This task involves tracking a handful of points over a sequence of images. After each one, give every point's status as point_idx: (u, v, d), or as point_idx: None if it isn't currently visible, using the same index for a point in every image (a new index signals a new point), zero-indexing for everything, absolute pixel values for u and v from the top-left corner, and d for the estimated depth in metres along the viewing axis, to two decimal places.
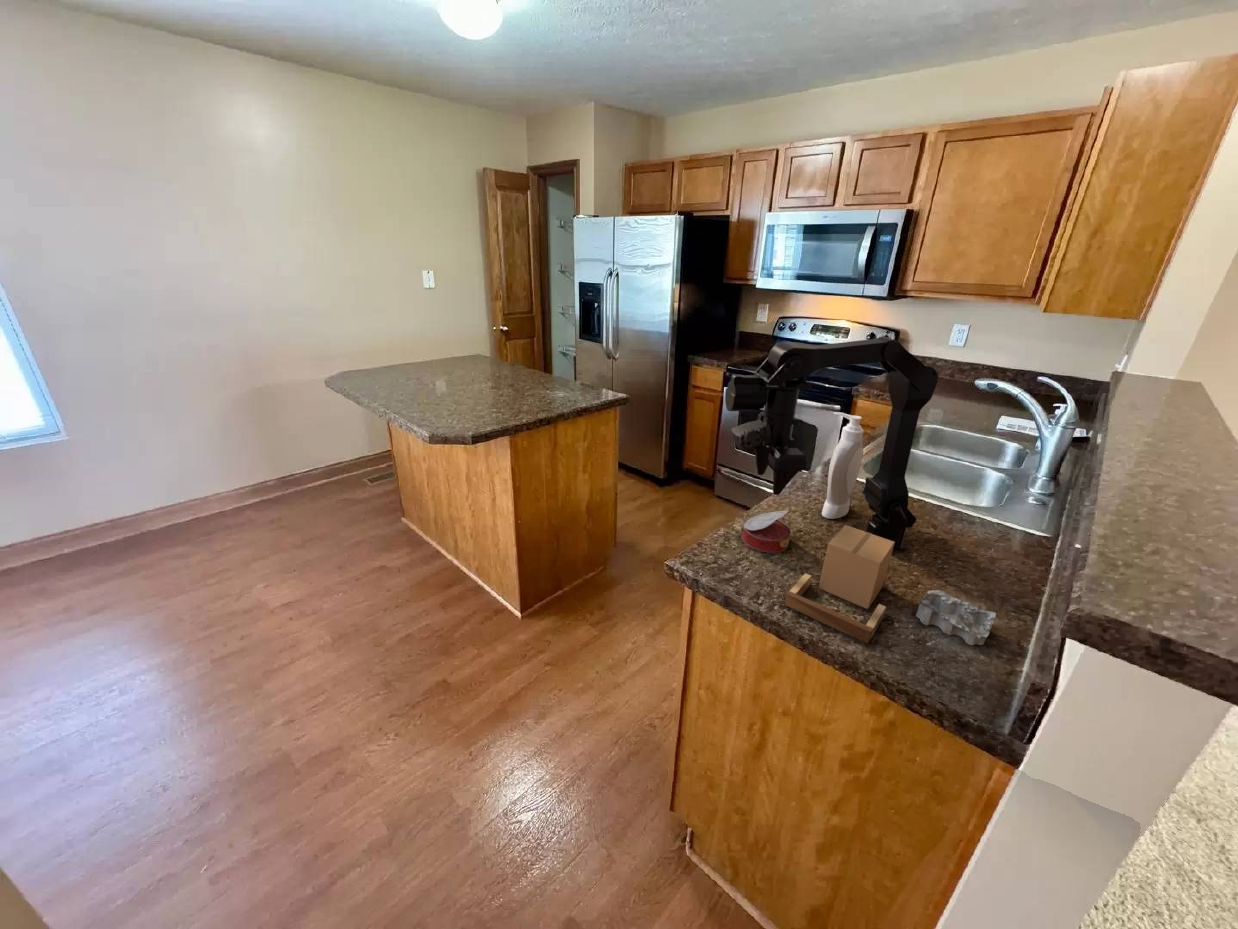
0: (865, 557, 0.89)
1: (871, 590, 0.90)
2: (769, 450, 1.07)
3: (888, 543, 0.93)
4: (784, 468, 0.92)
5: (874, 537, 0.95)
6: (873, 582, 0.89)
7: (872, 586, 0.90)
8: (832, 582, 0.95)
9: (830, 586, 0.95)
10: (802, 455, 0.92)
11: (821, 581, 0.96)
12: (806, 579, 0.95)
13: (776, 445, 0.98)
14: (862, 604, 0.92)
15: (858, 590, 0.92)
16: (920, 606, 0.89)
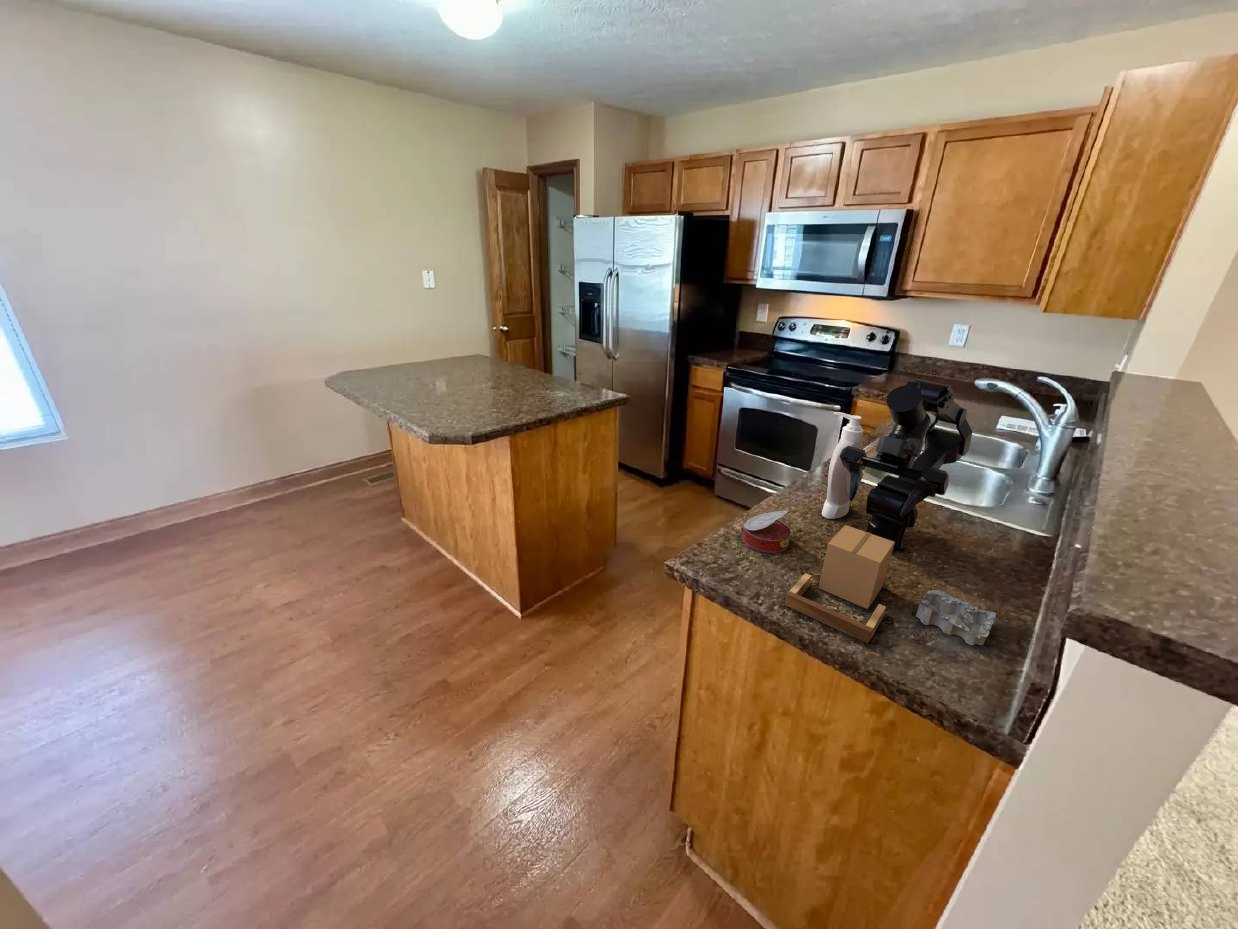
0: (865, 557, 0.89)
1: (871, 590, 0.90)
2: (860, 478, 1.02)
3: (888, 543, 0.93)
4: (944, 485, 0.92)
5: (874, 537, 0.95)
6: (873, 582, 0.89)
7: (872, 586, 0.90)
8: (832, 582, 0.95)
9: (830, 586, 0.95)
10: None
11: (821, 581, 0.96)
12: (806, 579, 0.95)
13: (909, 467, 0.97)
14: (862, 604, 0.92)
15: (858, 590, 0.92)
16: (920, 606, 0.89)
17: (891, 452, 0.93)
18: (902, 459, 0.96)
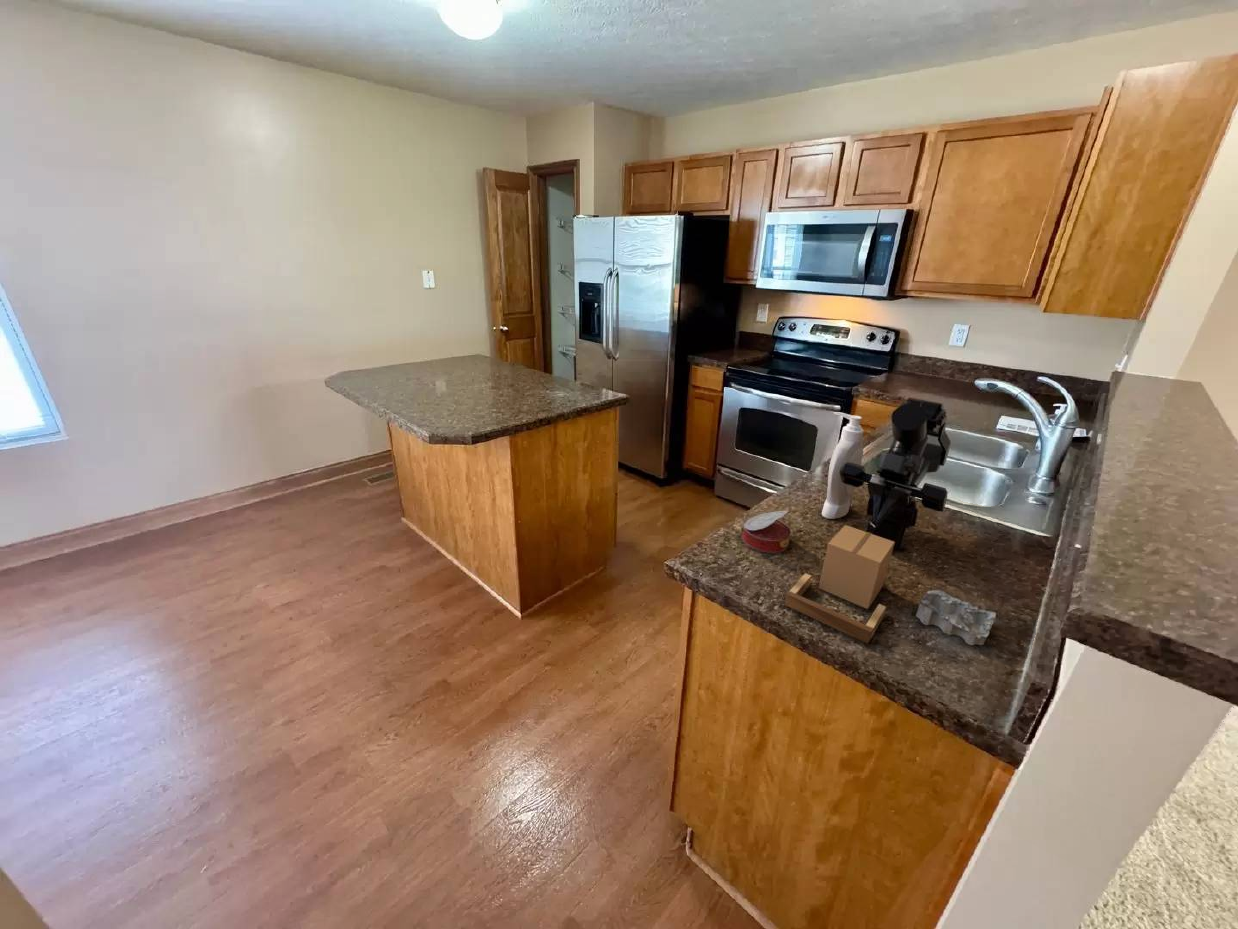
0: (865, 557, 0.89)
1: (871, 590, 0.90)
2: (882, 501, 1.01)
3: (888, 543, 0.93)
4: (944, 502, 0.93)
5: (874, 537, 0.95)
6: (873, 582, 0.89)
7: (872, 586, 0.90)
8: (832, 582, 0.95)
9: (830, 586, 0.95)
10: None
11: (821, 581, 0.96)
12: (806, 579, 0.95)
13: (908, 483, 0.98)
14: (862, 604, 0.92)
15: (858, 590, 0.92)
16: (920, 606, 0.89)
17: (892, 469, 0.94)
18: (902, 476, 0.97)
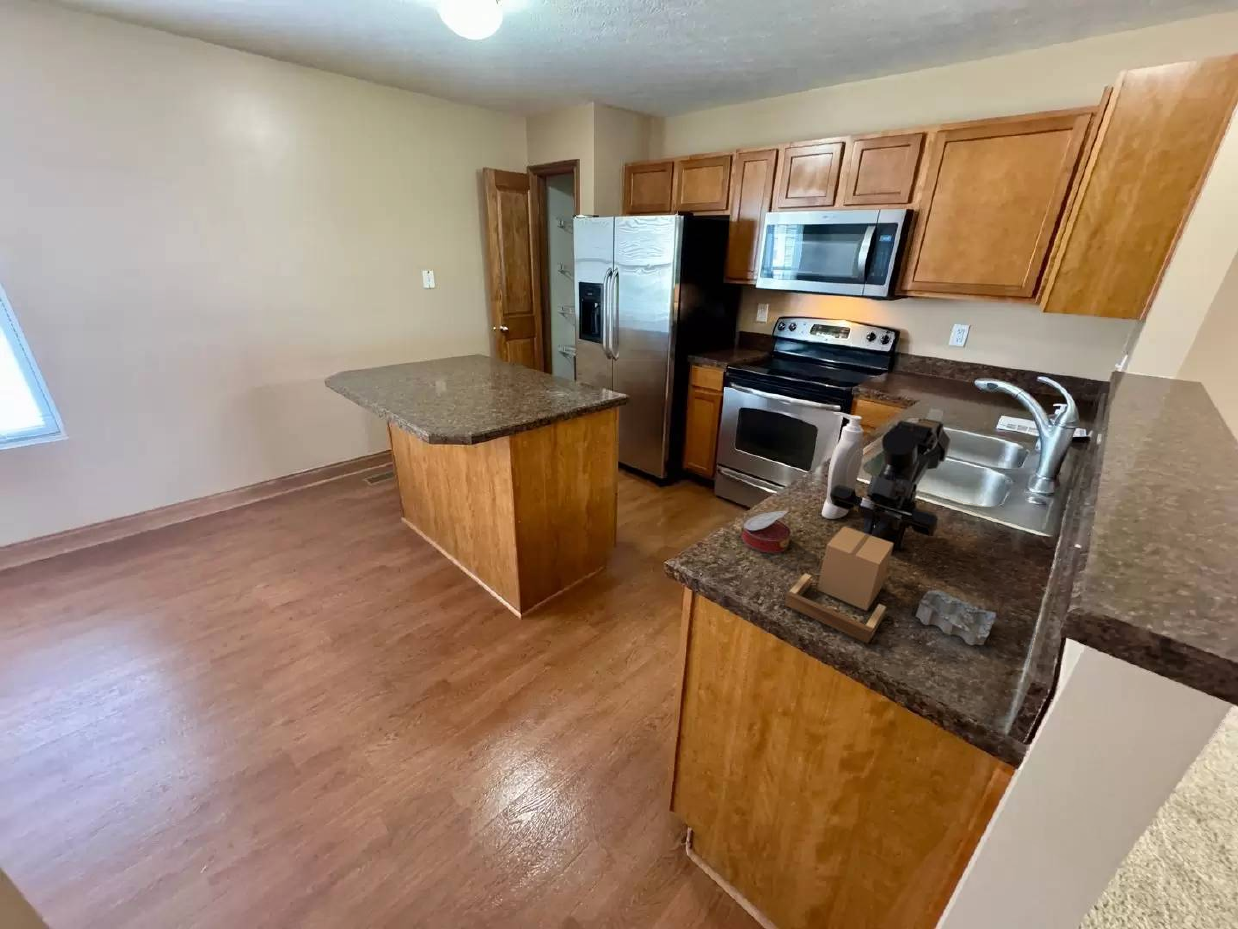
0: (864, 558, 0.89)
1: (870, 592, 0.90)
2: (873, 525, 1.00)
3: (887, 544, 0.93)
4: (934, 527, 0.93)
5: (873, 538, 0.95)
6: (871, 583, 0.89)
7: (871, 588, 0.89)
8: (831, 584, 0.94)
9: (829, 587, 0.95)
10: None
11: (820, 583, 0.96)
12: (806, 579, 0.95)
13: (898, 508, 0.97)
14: (861, 606, 0.92)
15: (857, 591, 0.91)
16: (920, 606, 0.89)
17: (882, 493, 0.93)
18: (892, 500, 0.97)
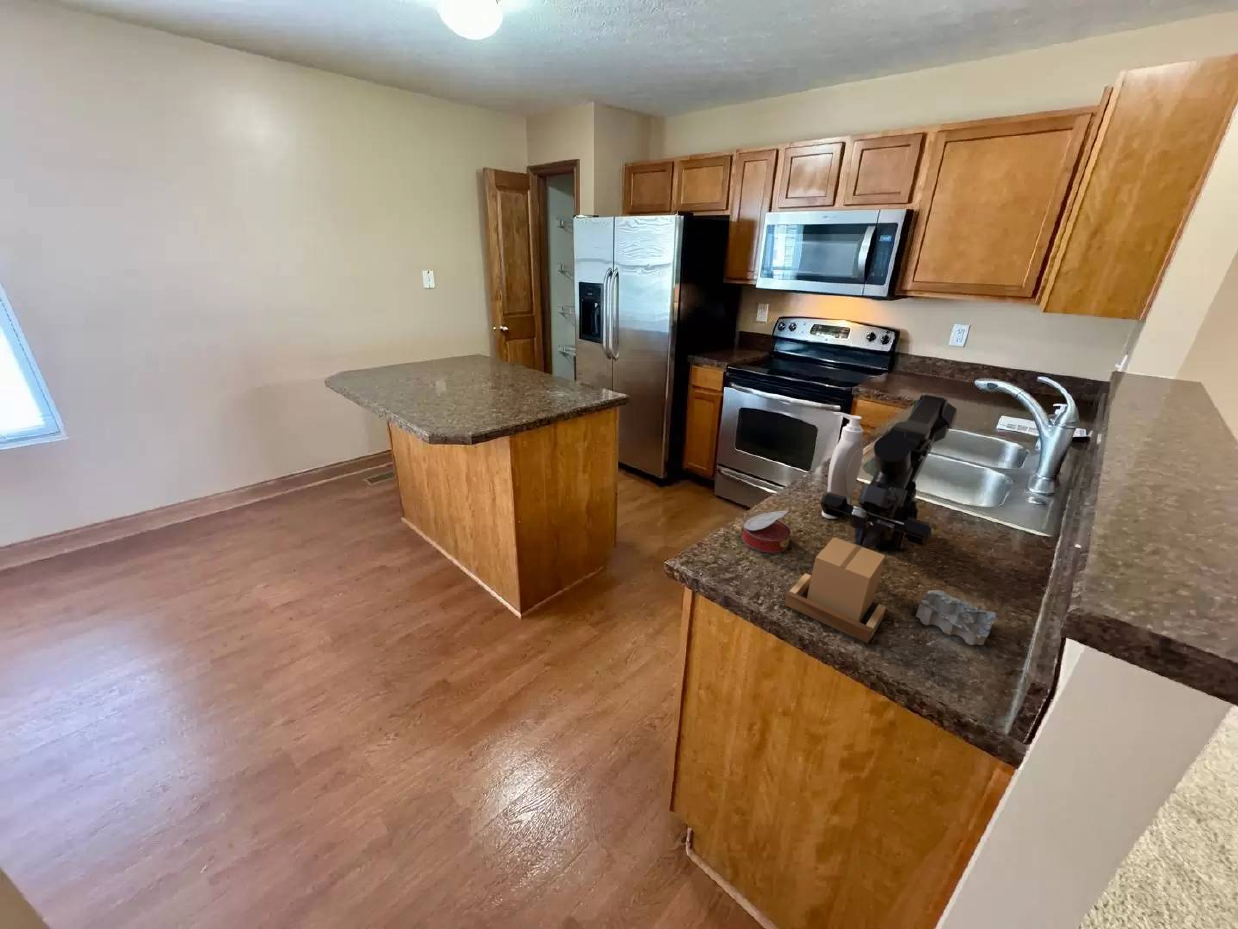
0: (854, 572, 0.85)
1: (860, 606, 0.86)
2: (864, 534, 0.96)
3: (879, 556, 0.89)
4: (928, 537, 0.89)
5: (864, 550, 0.91)
6: (862, 598, 0.85)
7: (861, 602, 0.86)
8: (820, 598, 0.90)
9: (818, 601, 0.91)
10: None
11: (809, 596, 0.92)
12: (806, 579, 0.95)
13: (891, 517, 0.94)
14: None
15: (847, 606, 0.87)
16: (920, 606, 0.89)
17: (874, 502, 0.89)
18: (884, 509, 0.93)
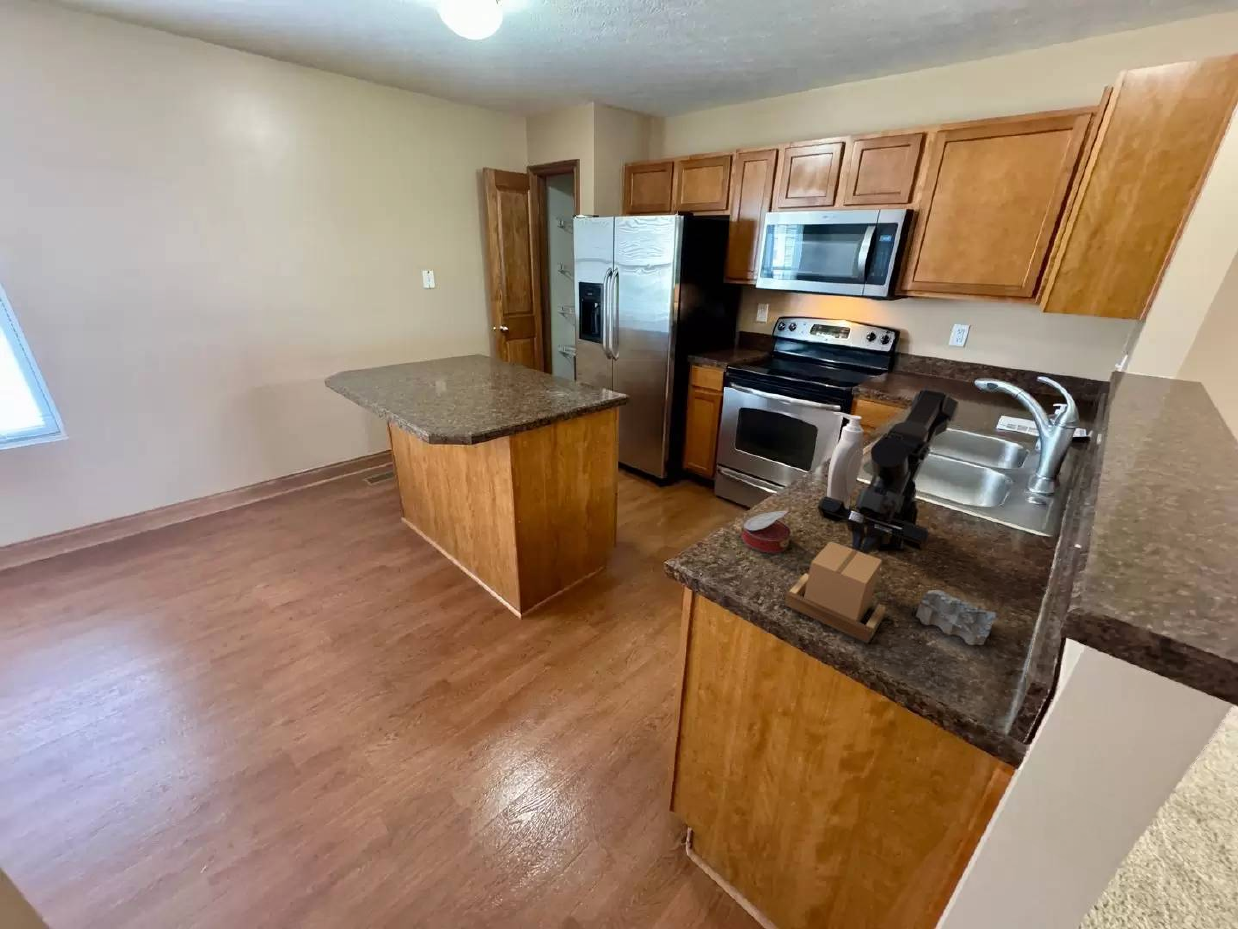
0: (850, 577, 0.84)
1: (856, 612, 0.85)
2: (862, 539, 0.96)
3: (876, 561, 0.88)
4: (925, 542, 0.88)
5: (861, 554, 0.90)
6: (858, 603, 0.84)
7: (857, 608, 0.84)
8: None
9: None
10: None
11: None
12: (806, 579, 0.95)
13: (889, 521, 0.93)
14: None
15: (843, 611, 0.86)
16: (920, 606, 0.89)
17: (871, 507, 0.89)
18: (882, 513, 0.92)
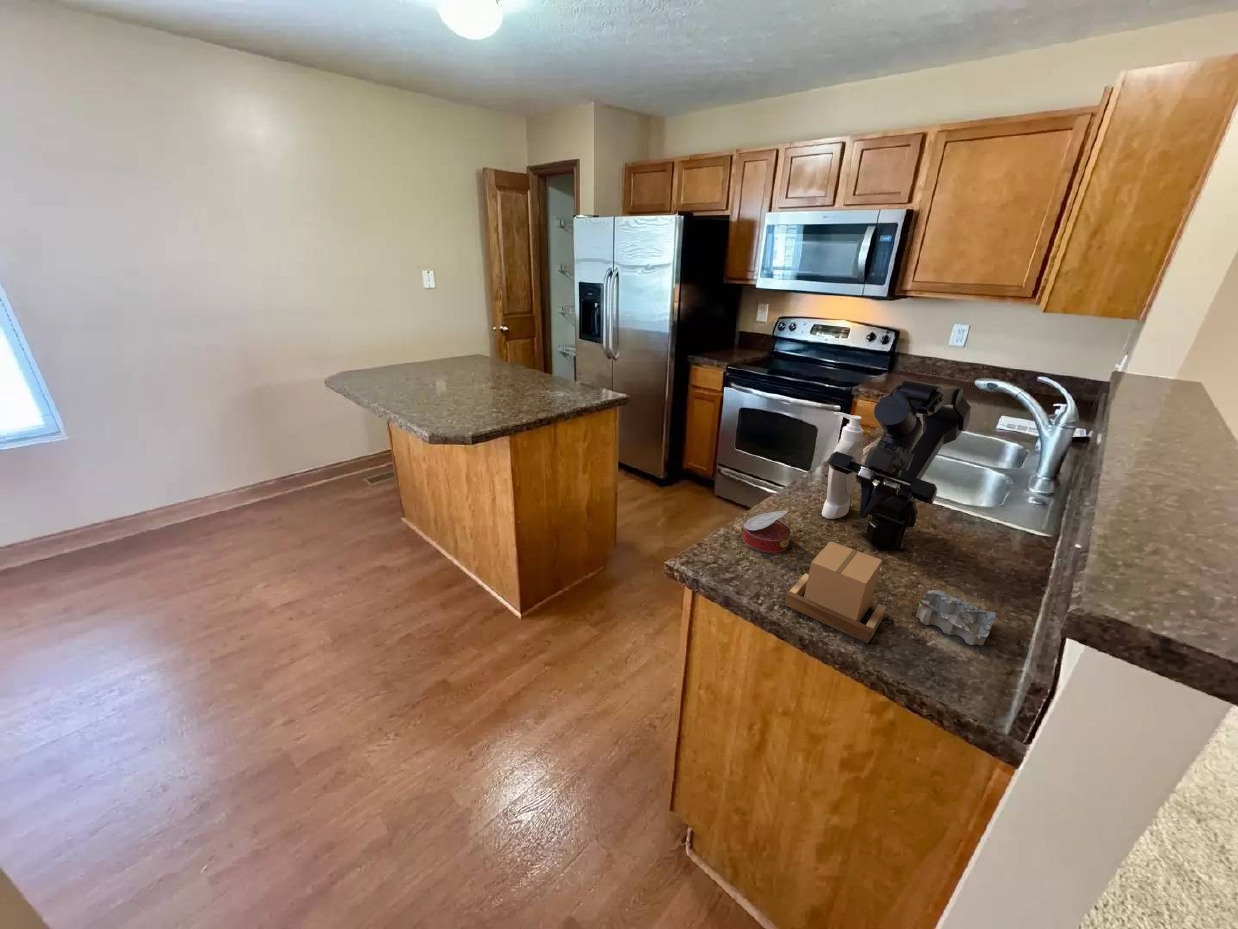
0: (850, 577, 0.84)
1: (856, 612, 0.85)
2: (871, 492, 0.98)
3: (876, 561, 0.88)
4: (932, 498, 0.91)
5: (861, 554, 0.90)
6: (858, 603, 0.84)
7: (857, 608, 0.84)
8: None
9: None
10: None
11: None
12: (806, 579, 0.95)
13: (898, 476, 0.95)
14: None
15: (843, 611, 0.86)
16: (920, 606, 0.89)
17: (880, 467, 0.90)
18: None
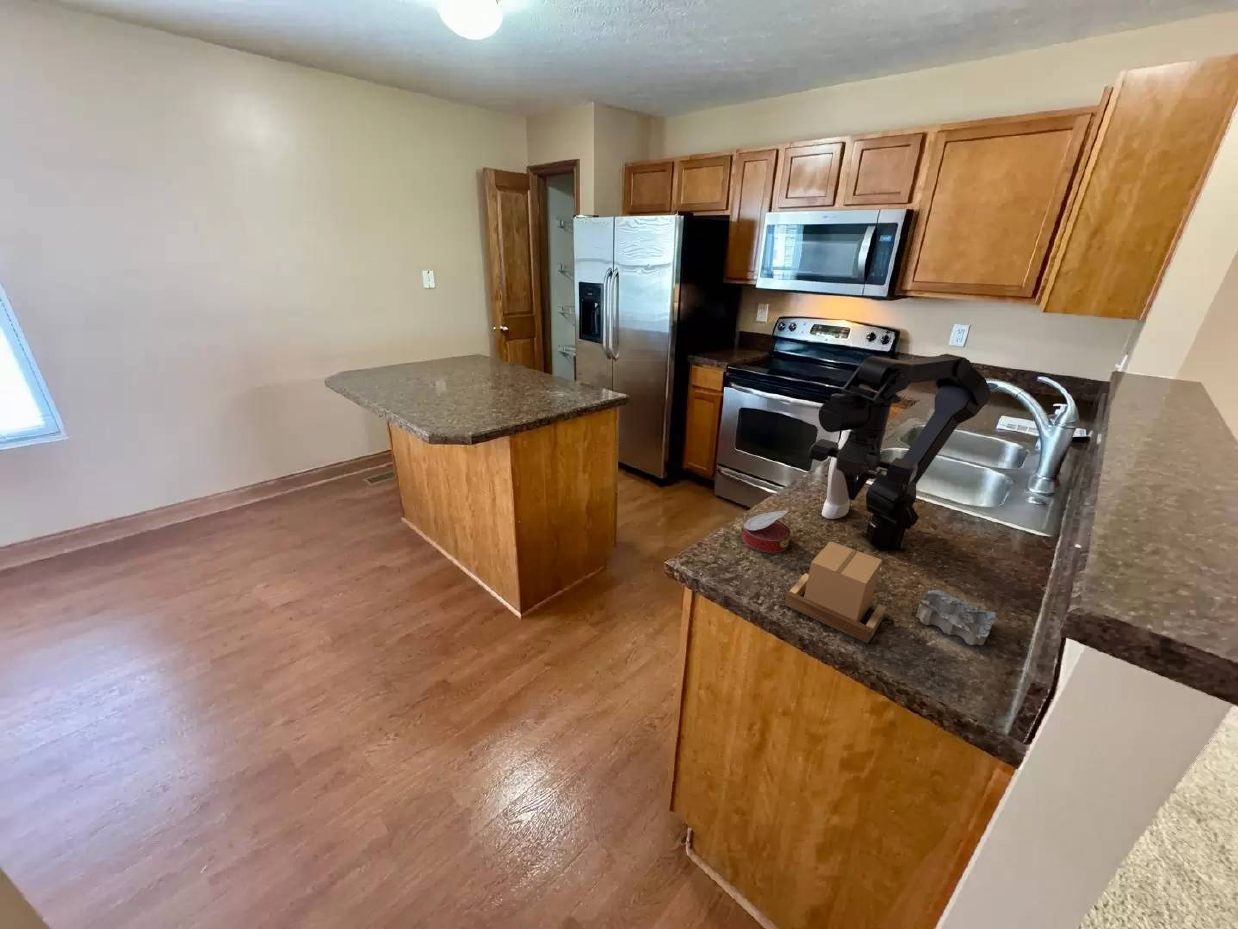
0: (850, 577, 0.84)
1: (856, 612, 0.85)
2: None
3: (876, 561, 0.88)
4: (910, 480, 0.93)
5: (861, 554, 0.90)
6: (858, 603, 0.84)
7: (857, 608, 0.84)
8: None
9: None
10: (914, 463, 0.95)
11: None
12: (806, 579, 0.95)
13: None
14: None
15: (843, 611, 0.86)
16: (920, 606, 0.89)
17: (850, 472, 0.93)
18: None
